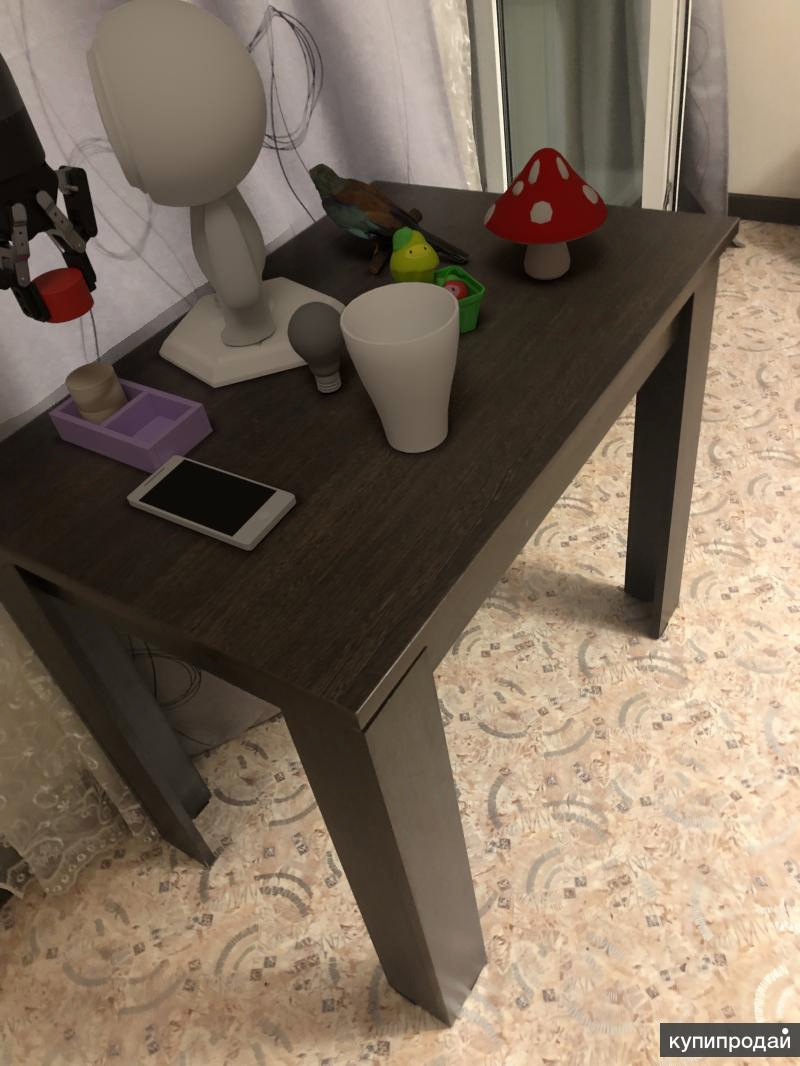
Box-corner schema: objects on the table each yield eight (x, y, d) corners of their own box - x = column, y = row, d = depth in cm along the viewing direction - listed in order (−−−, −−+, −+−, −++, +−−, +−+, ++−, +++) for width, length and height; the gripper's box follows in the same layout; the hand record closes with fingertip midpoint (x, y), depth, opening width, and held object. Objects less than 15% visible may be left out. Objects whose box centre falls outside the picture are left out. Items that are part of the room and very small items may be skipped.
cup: (457, 393, 84) (445, 272, 75) (482, 455, 77) (471, 328, 67) (358, 415, 84) (333, 295, 74) (373, 478, 76) (347, 355, 67)
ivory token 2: (109, 441, 85) (98, 418, 83) (78, 429, 88) (67, 407, 86) (143, 414, 88) (133, 391, 86) (112, 404, 90) (102, 381, 88)
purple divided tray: (159, 476, 81) (147, 449, 78) (61, 439, 88) (47, 413, 86) (213, 431, 85) (203, 403, 83) (115, 398, 92) (103, 372, 90)
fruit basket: (399, 364, 90) (384, 268, 82) (369, 330, 96) (352, 237, 88) (490, 331, 92) (484, 235, 84) (455, 299, 98) (446, 207, 90)
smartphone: (250, 552, 71) (247, 544, 71) (127, 504, 78) (124, 497, 78) (298, 501, 75) (296, 493, 75) (177, 460, 82) (174, 453, 82)
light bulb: (320, 369, 91) (301, 287, 84) (367, 377, 89) (351, 294, 82) (292, 400, 87) (270, 317, 80) (340, 409, 85) (321, 324, 78)
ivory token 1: (98, 418, 83) (86, 393, 81) (67, 407, 86) (54, 383, 83) (133, 391, 86) (123, 367, 84) (102, 381, 88) (91, 357, 86)
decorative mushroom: (478, 304, 96) (469, 176, 86) (496, 249, 106) (490, 127, 95) (600, 304, 93) (606, 170, 82) (608, 247, 102) (614, 121, 92)
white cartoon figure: (158, 318, 105) (37, 2, 80) (330, 275, 107) (264, -45, 82) (164, 401, 90) (20, 48, 66) (363, 350, 92) (294, -10, 68)
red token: (64, 328, 74) (50, 298, 72) (30, 318, 76) (16, 288, 74) (105, 301, 77) (92, 271, 75) (71, 292, 79) (58, 263, 77)
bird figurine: (483, 237, 107) (390, 100, 98) (461, 275, 101) (360, 133, 92) (409, 281, 116) (318, 159, 107) (384, 319, 109) (285, 192, 101)
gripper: (18, 78, 70) (96, 263, 82) (-132, 142, 62) (-21, 336, 74) (74, 82, 67) (147, 275, 78) (-77, 150, 59) (29, 352, 71)
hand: (64, 303), depth 76 cm, fingers closed on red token, 5 cm apart
